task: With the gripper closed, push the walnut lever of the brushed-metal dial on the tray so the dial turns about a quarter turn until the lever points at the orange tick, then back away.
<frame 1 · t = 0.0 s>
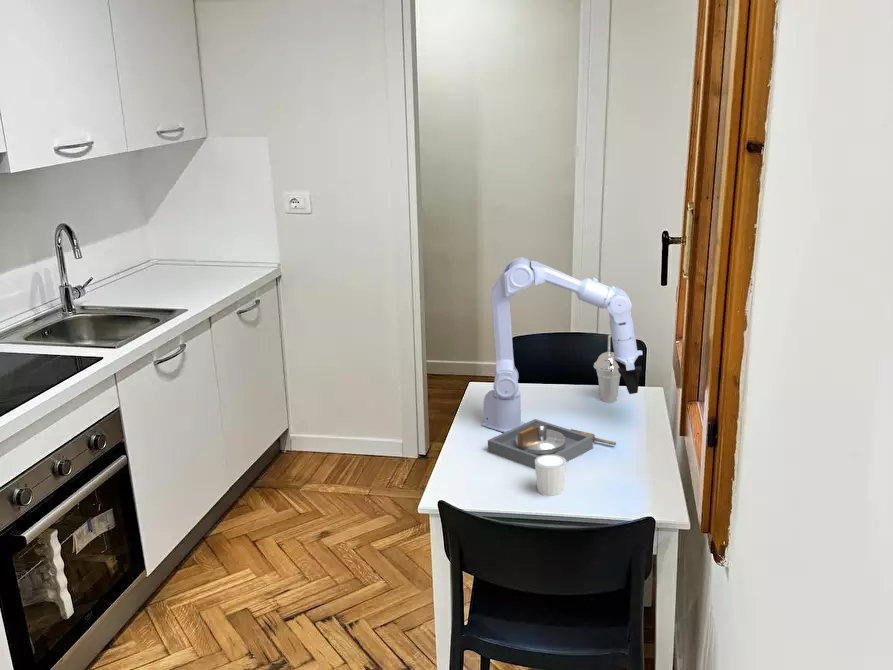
hand: (631, 387, 211), 11 cm above the table, tool pointing down, fingers open, 7 cm apart
cup with straw: (608, 400, 233), on the table
tray: (540, 450, 202), on the table
dial: (538, 435, 200), point 4 cm above the table, hinge at 0.0°
shot glass: (550, 490, 181), on the table
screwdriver: (588, 442, 205), on the table
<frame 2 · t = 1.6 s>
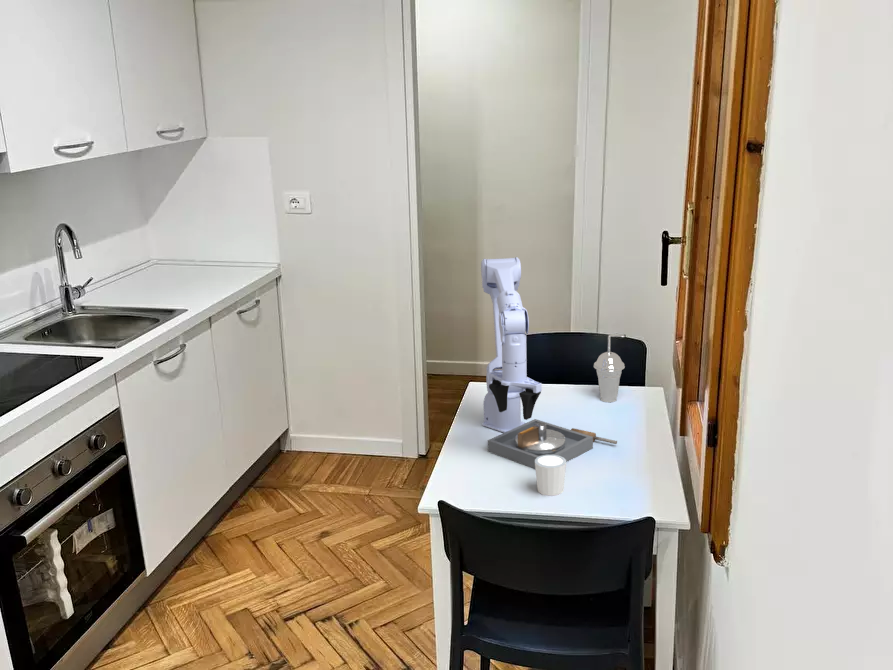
hand: (515, 414, 198), 10 cm above the table, tool pointing down, fingers open, 7 cm apart
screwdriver: (588, 441, 205), on the table, tilted 38°
everything else where it was.
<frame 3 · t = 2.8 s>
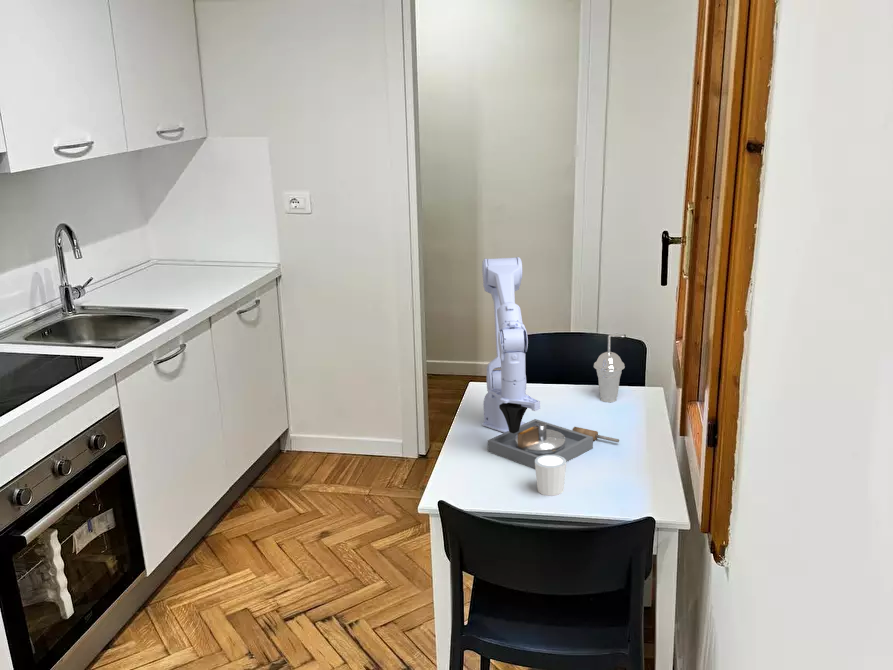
hand: (514, 431, 199), 6 cm above the table, tool pointing down, fingers closed
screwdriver: (590, 436, 206), point 1 cm above the table, tilted 98°
everything else where it was.
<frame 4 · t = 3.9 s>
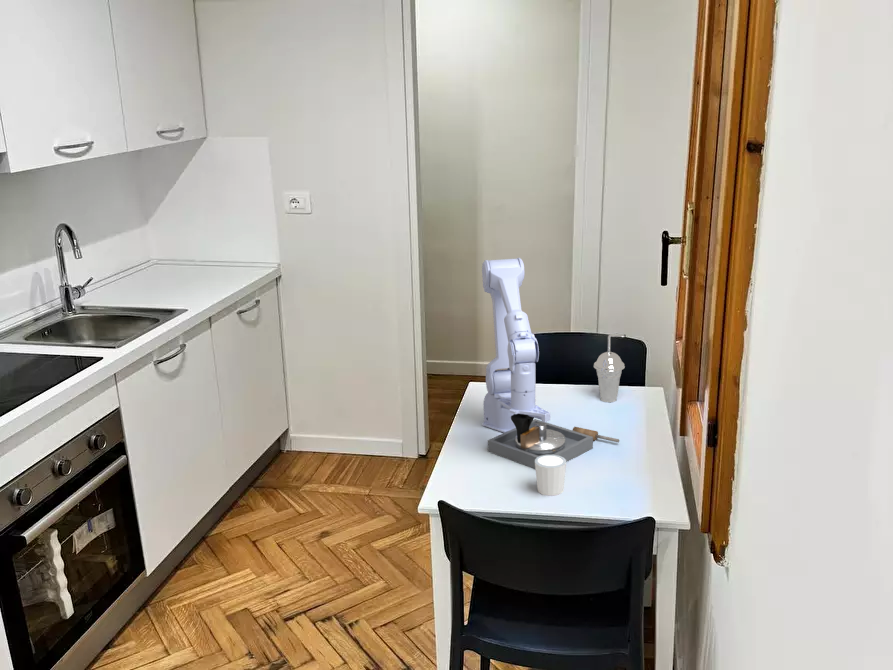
hand: (523, 442, 198), 4 cm above the table, tool pointing down, fingers closed, pressing on dial
dial: (538, 435, 200), point 4 cm above the table, hinge at 6.9°, touching gripper
everything else where it was.
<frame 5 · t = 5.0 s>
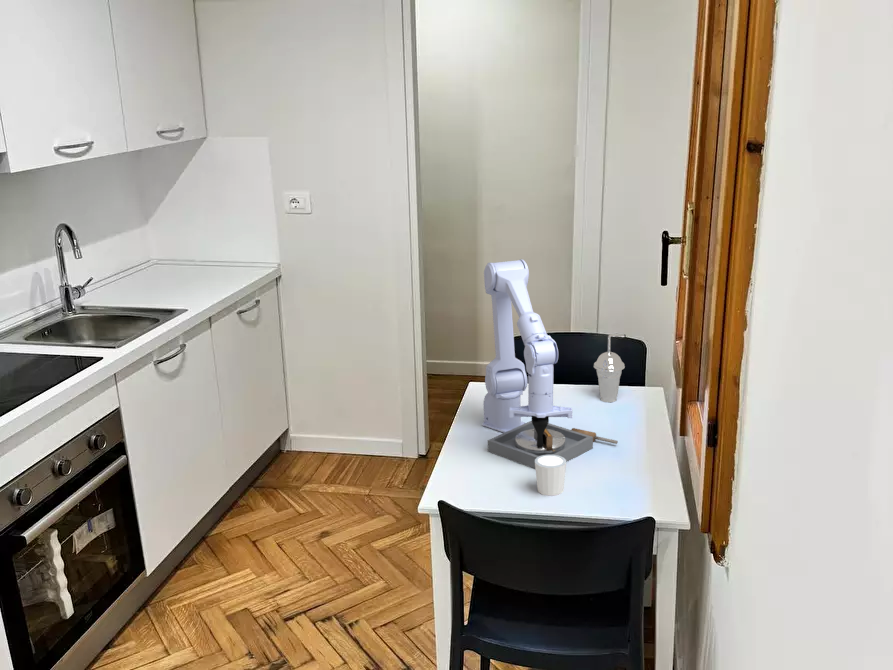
hand: (540, 445, 196), 4 cm above the table, tool pointing down, fingers closed, pressing on dial
dial: (541, 435, 200), point 4 cm above the table, hinge at 56.0°, touching gripper
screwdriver: (588, 440, 205), on the table, tilted 47°
everything else where it was.
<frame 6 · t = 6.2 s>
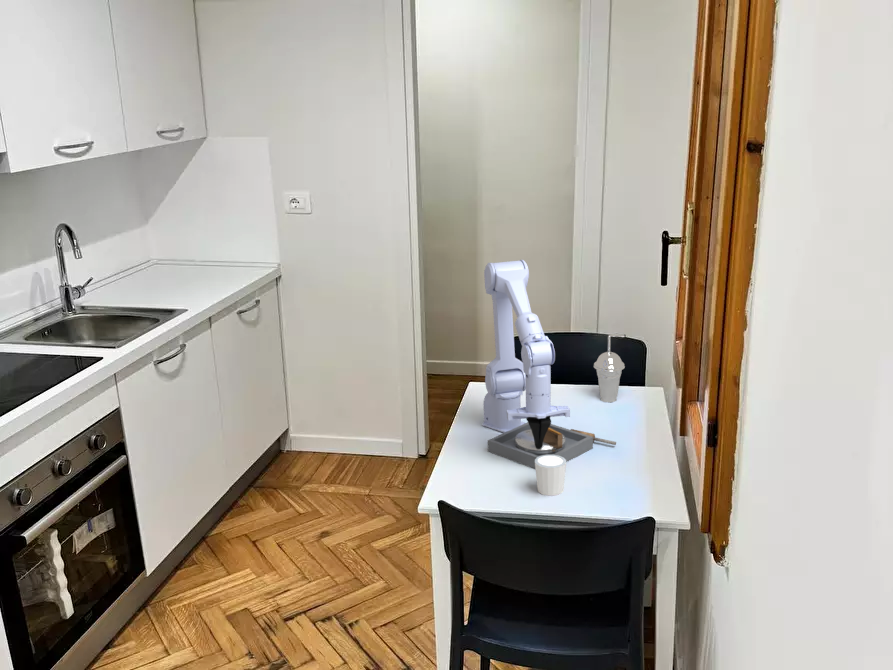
hand: (538, 446, 195), 4 cm above the table, tool pointing down, fingers closed
dial: (542, 435, 200), point 4 cm above the table, hinge at 77.0°
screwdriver: (588, 442, 205), on the table, tilted 7°
everything else where it was.
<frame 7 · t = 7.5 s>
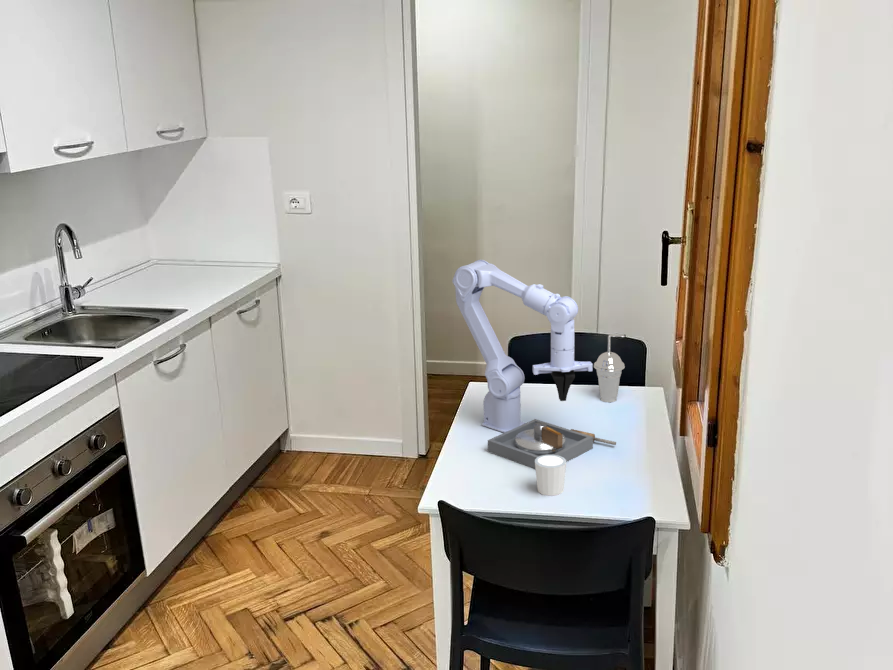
hand: (562, 399, 206), 10 cm above the table, tool pointing down, fingers closed
nothing on the table moved.
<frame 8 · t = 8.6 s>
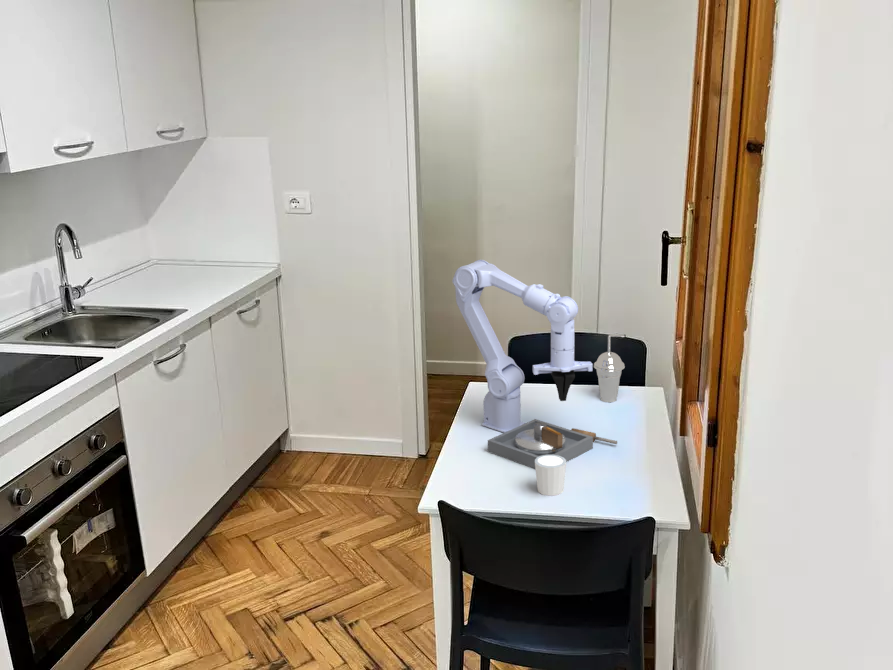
hand: (562, 399, 206), 10 cm above the table, tool pointing down, fingers closed
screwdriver: (588, 441, 205), on the table, tilted 39°
everything else where it was.
at the end: dial at +77° (first picture: +0°) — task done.
